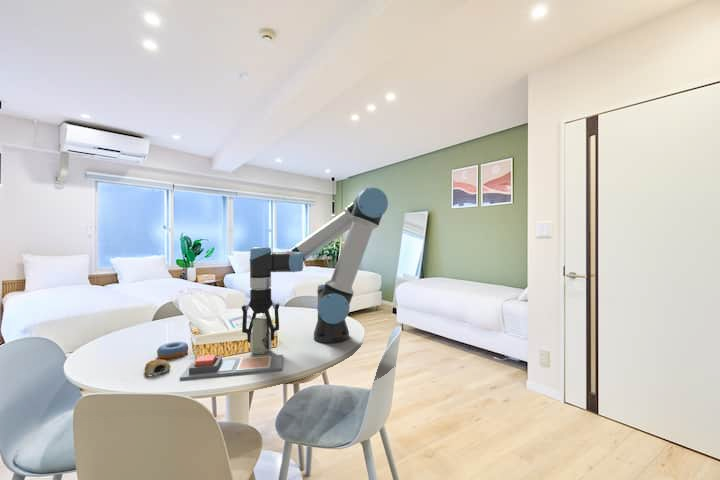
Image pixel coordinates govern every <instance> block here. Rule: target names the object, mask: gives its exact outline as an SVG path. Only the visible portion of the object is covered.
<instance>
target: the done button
mask: <svg viewBox="0 0 720 480" xmlns="http://www.w3.org/2000/svg"><path fill="white" fill-rule="evenodd" d="M216 357H217V354H206V355H205V354H204V355H199V357H198V358H196V359H197V360H196V359H195V360H196V366H208V365H214V363H215V362H216Z"/></svg>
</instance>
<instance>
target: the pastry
mask: <svg viewBox="0 0 720 480" xmlns="http://www.w3.org/2000/svg"><path fill="white" fill-rule="evenodd" d="M170 369H171V364H170V363H169V362H168V361H167V359H154V360H153V359H151V360H150V361H148V362H146V365H145V367H144V372H145V373H146V376H148V375H156V376H158V375H157V374H159V375H161V374H160V373H162V374H164V373H167V372H168V371H170Z"/></svg>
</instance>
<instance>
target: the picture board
mask: <svg viewBox="0 0 720 480" xmlns="http://www.w3.org/2000/svg"><path fill="white" fill-rule="evenodd" d="M283 357H284V354H276V355H275V354H273V355H265V356H253V357H252V356H251V357H241V358H240V357H239V358H238V357H237V358H229V359H228V358H227V359H223V356H216V362H215V363H214V365H208V366H196V360H197V359H198V358H196V359H195V360H194V361H193V362H191V363H190V364H189V365H188V366H187V368H186V369H185V370H184V371H183V373H182V374H181V375H180V377H179V381H184V380H185V381H186V380H196V379H208V378H216V377H217V378H218V377H228V376H238V375H248V374H249V375H250V374H259V373H267V372H268V373H269V372H280V371H283V359H284V358H283Z"/></svg>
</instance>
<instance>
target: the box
mask: <svg viewBox="0 0 720 480" xmlns="http://www.w3.org/2000/svg"><path fill="white" fill-rule="evenodd" d="M269 331H270V327H269V324H268V321H267V318H266V316H256V318H255V319H253V327H252V332H253V352H252V354H254V355H264V354H265V353H268V352H269V351H270V350H269Z"/></svg>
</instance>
